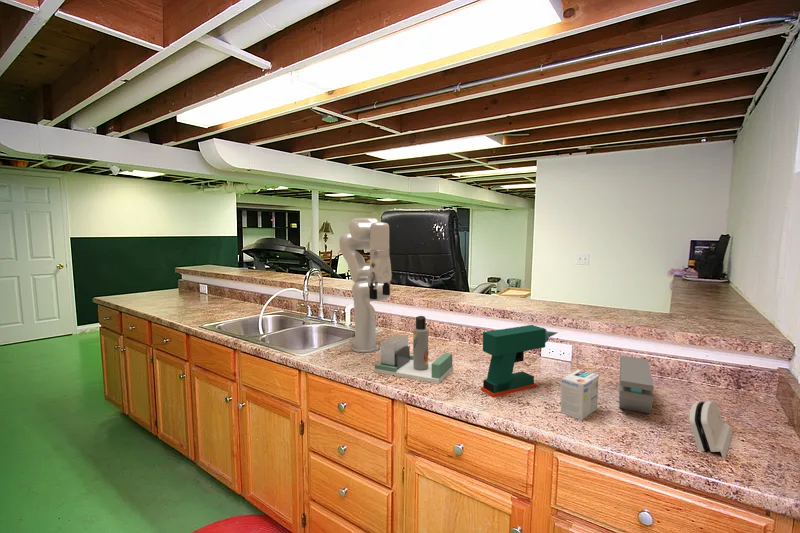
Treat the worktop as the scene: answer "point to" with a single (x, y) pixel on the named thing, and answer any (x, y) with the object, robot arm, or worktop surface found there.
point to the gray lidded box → (635, 384)
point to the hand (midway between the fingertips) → (379, 296)
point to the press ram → (395, 351)
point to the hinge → (709, 428)
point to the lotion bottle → (420, 344)
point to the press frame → (432, 374)
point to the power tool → (511, 357)
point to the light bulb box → (579, 394)
